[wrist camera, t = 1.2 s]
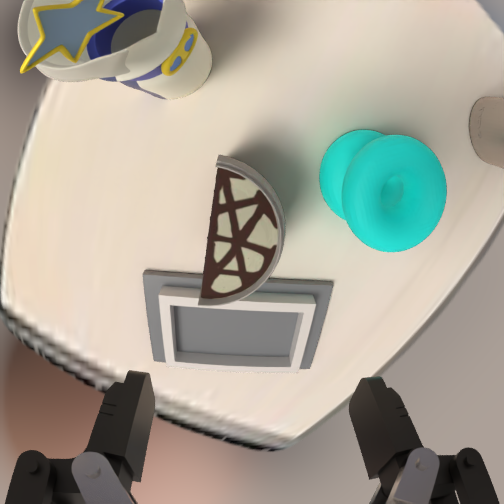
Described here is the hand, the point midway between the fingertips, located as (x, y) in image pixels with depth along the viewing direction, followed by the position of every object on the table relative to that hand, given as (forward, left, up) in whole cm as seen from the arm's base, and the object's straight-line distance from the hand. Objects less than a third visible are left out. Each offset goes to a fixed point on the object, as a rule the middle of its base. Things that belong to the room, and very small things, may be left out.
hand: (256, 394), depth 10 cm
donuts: (-12, -5, -23) cm, 27 cm away
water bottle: (+8, -15, -23) cm, 29 cm away
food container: (0, 0, -23) cm, 23 cm away
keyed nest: (0, +15, -23) cm, 27 cm away
